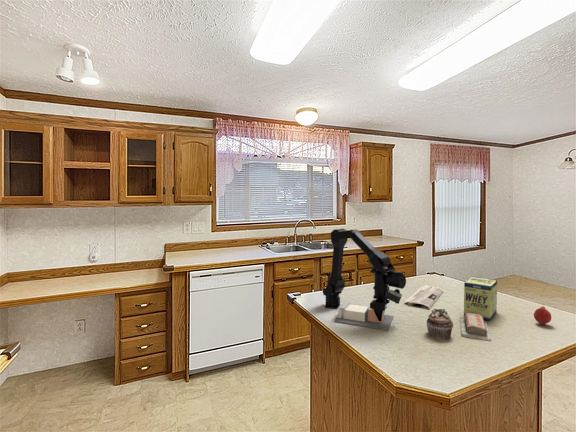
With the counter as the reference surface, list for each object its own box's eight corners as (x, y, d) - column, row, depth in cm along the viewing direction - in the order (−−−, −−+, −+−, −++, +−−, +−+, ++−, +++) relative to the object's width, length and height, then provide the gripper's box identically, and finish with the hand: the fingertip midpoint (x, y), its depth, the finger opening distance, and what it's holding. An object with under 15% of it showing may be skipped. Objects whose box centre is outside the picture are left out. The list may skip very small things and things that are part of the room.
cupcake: (422, 330, 131) (422, 306, 130) (446, 329, 130) (446, 306, 130) (432, 340, 121) (432, 314, 120) (457, 340, 121) (458, 314, 120)
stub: (367, 320, 139) (367, 309, 139) (370, 316, 144) (370, 306, 144) (381, 323, 137) (381, 311, 136) (383, 318, 141) (383, 307, 141)
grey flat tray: (334, 321, 140) (334, 309, 140) (344, 310, 155) (344, 298, 154) (388, 330, 130) (388, 317, 130) (393, 317, 145) (393, 305, 144)
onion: (546, 328, 130) (547, 309, 129) (530, 323, 135) (531, 305, 134) (553, 325, 133) (554, 307, 132) (537, 321, 138) (538, 303, 137)
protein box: (463, 316, 145) (463, 282, 144) (472, 307, 156) (472, 276, 155) (490, 321, 138) (490, 286, 137) (497, 312, 149) (497, 279, 148)
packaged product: (459, 310, 140) (486, 314, 135) (459, 321, 140) (486, 325, 136) (461, 325, 124) (491, 330, 119) (461, 337, 124) (491, 342, 120)
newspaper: (429, 310, 154) (429, 303, 153) (403, 305, 161) (403, 298, 161) (443, 292, 182) (443, 286, 182) (420, 288, 189) (421, 283, 189)
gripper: (397, 291, 126) (397, 330, 127) (402, 280, 143) (402, 314, 144) (369, 288, 131) (369, 325, 132) (377, 278, 148) (377, 310, 149)
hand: (381, 318), depth 139 cm, fingers closed on stub, 5 cm apart
